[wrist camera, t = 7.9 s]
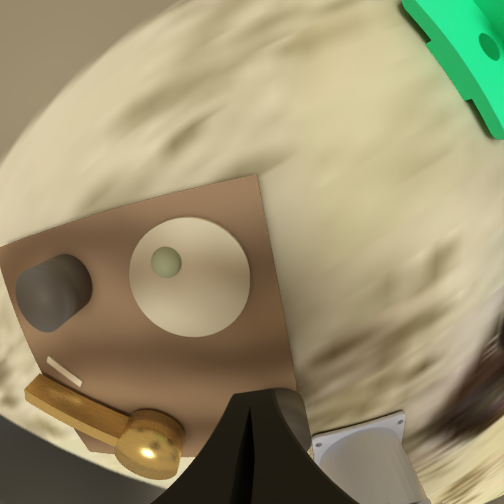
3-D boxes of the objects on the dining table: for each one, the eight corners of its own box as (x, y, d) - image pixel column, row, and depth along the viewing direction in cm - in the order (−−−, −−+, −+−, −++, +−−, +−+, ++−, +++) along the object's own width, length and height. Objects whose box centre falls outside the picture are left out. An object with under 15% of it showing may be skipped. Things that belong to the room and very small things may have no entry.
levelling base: (307, 430, 21) (316, 477, 16) (95, 441, 22) (76, 477, 17) (261, 173, 17) (264, 170, 12) (7, 244, 18) (-37, 260, 13)
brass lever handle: (190, 422, 18) (183, 455, 15) (179, 456, 19) (171, 486, 16) (39, 357, 18) (16, 379, 15) (42, 396, 19) (24, 418, 15)
